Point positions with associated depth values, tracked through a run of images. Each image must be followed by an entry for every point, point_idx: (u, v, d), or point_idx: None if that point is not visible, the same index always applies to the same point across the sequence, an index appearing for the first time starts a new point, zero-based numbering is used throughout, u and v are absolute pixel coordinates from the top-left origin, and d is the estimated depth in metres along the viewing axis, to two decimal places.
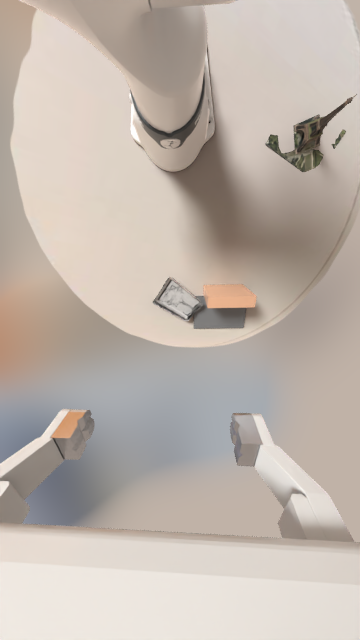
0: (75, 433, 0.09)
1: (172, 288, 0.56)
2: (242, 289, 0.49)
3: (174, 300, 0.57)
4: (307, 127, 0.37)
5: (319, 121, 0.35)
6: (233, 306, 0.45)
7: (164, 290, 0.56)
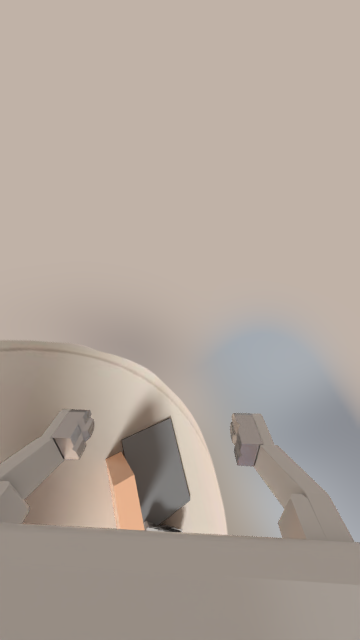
0: (75, 433, 0.09)
1: None
2: None
3: None
4: None
5: None
6: (139, 518, 0.25)
7: None
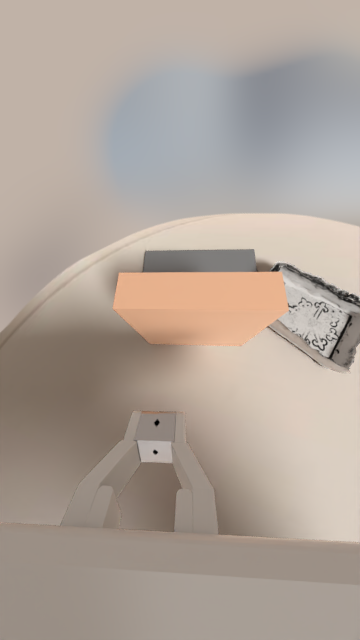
0: None
1: (320, 341, 0.22)
2: (153, 331, 0.18)
3: (309, 312, 0.23)
4: None
5: None
6: (188, 277, 0.13)
7: (340, 337, 0.22)
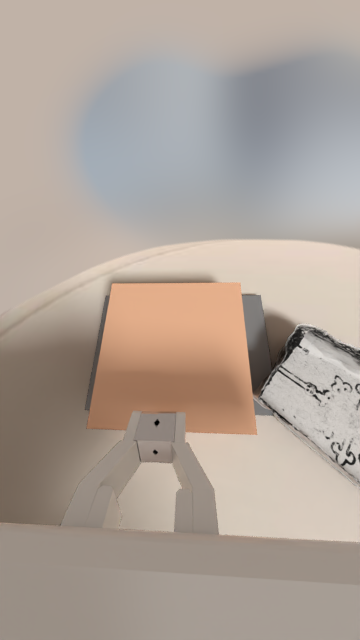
0: None
1: None
2: (121, 345, 0.15)
3: (349, 402, 0.15)
4: None
5: None
6: None
7: None
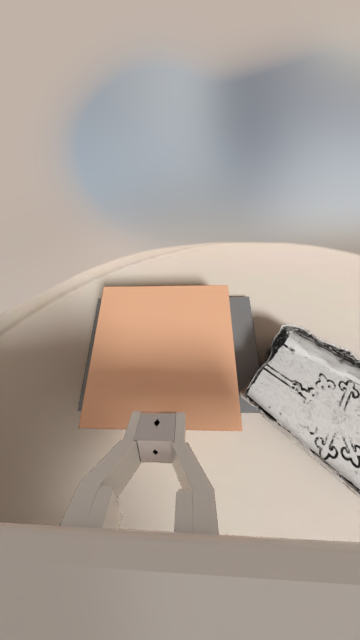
0: None
1: (353, 450, 0.15)
2: (112, 346, 0.15)
3: (332, 398, 0.16)
4: None
5: None
6: None
7: None
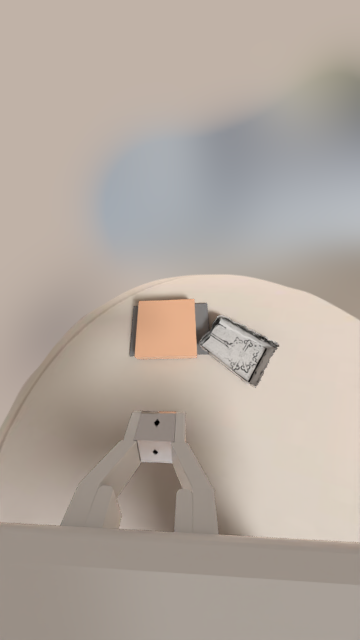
0: None
1: (246, 366, 0.35)
2: (145, 326, 0.36)
3: (240, 347, 0.37)
4: None
5: None
6: None
7: (258, 363, 0.35)
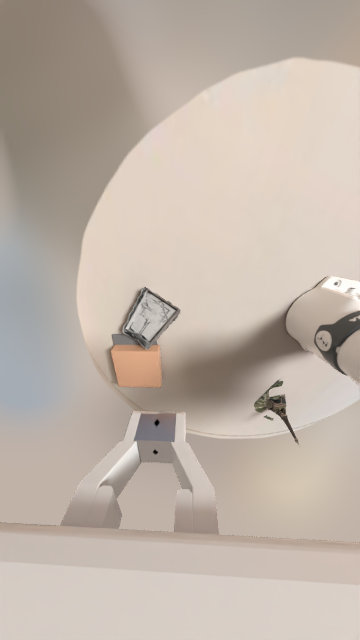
0: None
1: (164, 310, 0.43)
2: (138, 382, 0.49)
3: (149, 312, 0.43)
4: (282, 405, 0.51)
5: (285, 415, 0.49)
6: None
7: (161, 300, 0.42)
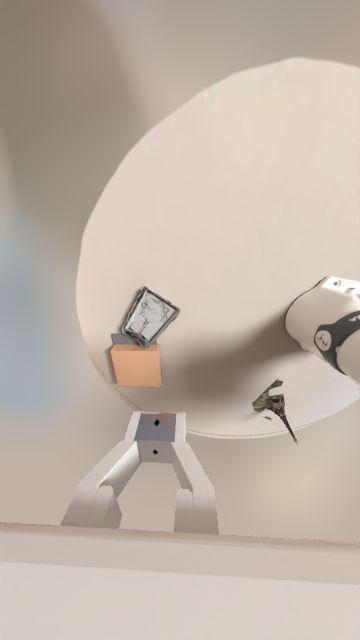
0: None
1: (164, 310, 0.43)
2: (138, 382, 0.49)
3: (148, 312, 0.43)
4: (281, 405, 0.51)
5: (284, 415, 0.49)
6: None
7: (161, 299, 0.42)
